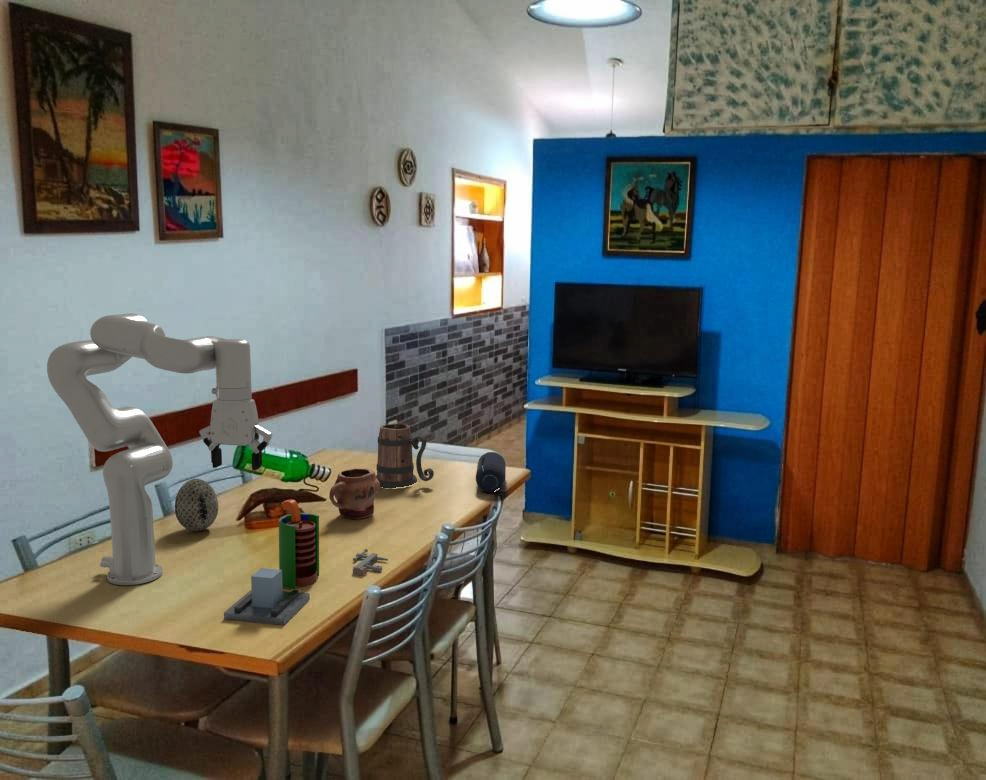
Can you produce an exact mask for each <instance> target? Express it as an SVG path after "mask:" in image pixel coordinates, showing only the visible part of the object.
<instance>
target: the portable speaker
mask: <svg viewBox="0 0 986 780" xmlns="http://www.w3.org/2000/svg"><path fill="white" fill-rule="evenodd" d="M506 465H507V463H506V461H505V459H504V457H503V456H502V454H499V453H498V452H495V451H489V452H486V453H485V452H484V453H483V454H482V455H481V456H480V457H479V459H478V461H477V467H476V471H475V473H476V474H475V483H476V486H477V487H478V488H479V489H480V490H481V491H483V492H484V491H486V492H485V493H487V492H494V491H495V490H496V489H498V488H501V489H502V488H503V487H504V486H505V484H506V483H505V482H506V475H507V473H506V472H507V470H506V467H507V466H506Z"/></svg>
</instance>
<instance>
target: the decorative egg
mask: <svg viewBox="0 0 986 780" xmlns="http://www.w3.org/2000/svg"><path fill="white" fill-rule="evenodd" d="M174 502H175V503H174V512H175V517H176V519H177V521H178V523H179V524H180V525H181V526H182V527H183V528H185V529H186V530H189V531H192V532H201V531H204V530H206V529H208V528H209V527H211V526H212V525H213V524H214V522H215V521H216V519H217V516H218V513H219V500H218V496H217V493H216V491H215V490H214V488H213V487H212V485H210V484H209V483H208V482H207V481H205V480H203V479H200V478H192V479H190V480H188V481H186V482H185V483H184V484H182V485H181V487H180V488H179V490H178V491H177V494H176V497H175V500H174Z"/></svg>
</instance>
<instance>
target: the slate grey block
mask: <svg viewBox="0 0 986 780" xmlns="http://www.w3.org/2000/svg"><path fill="white" fill-rule="evenodd" d="M250 576H251V577H250V582H251V584H250V585H251V589H252V606H255V607H265V608H274V607H275V606H276V605H277V604H278V603H279V602H280V601H281V600H283V591H284V589H283V586H282V570H279V569H277V568H276V569H275V568H264V567H262V568H259V569H258V570H257V571H256V572H254V573H253V574H252V575H250Z"/></svg>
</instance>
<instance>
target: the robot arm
mask: <svg viewBox="0 0 986 780" xmlns="http://www.w3.org/2000/svg"><path fill="white" fill-rule="evenodd" d="M89 331H90V333H89V335H90V338H91V339H89V340H78V341H73V342H68V343H64V344H61V345H59V346H58V347H56V348H55V349H53V350H52V352H50V354H49V356H48V359H47V363H46V372H47V377H48V381H49V383H50V385H51V387H52V388H53V390H54V392H55V393H56V394H57V395H58V397H59V398H60V399H61V401H62V402H63V403H64V404H65V405H66V406H67V408H68V410H69V412H71V414H72V416H73V419H74V420H75V422H77V424H78V426H79V427H80V429H81V431H82V433H83V434H84V436H85V438H86V439H87V440H88V442H89V444H90V445H91V447H92V448H94V449H95V450H96V451H98V452H104V453H105V452H111V451H114V450H119V449H122V448H125V447H127V449H125V450H121V451H118V452H117V453H115V454H113V455H111V456H110V457H109V458H107V460H106V461H105V462H104V465H103V468H102V477H103V481H104V484H105V488H106V492H107V497H108V506H109V519H110V533H111V549H112V551H111V552H112V556H108V555H107V556H105V555H104V556H103V557H101V561H100V564H99V566H100V568H108V569H109V571H108V572H107V575H106V580H107V581H108V583H110V584H112V585H118V586H135V585H140V584H146V583H149V582H152V581H155V580H157V579H158V578H160V577H161V576H162V574H163V573H164V572H163V566H162V565H159V564H158V563H156V551H155V550H156V549H155V531H154V529H155V527H154V513H153V503H152V499H151V497H150V495H149V494H148V491H147V490H146V488H145V487H146V486H147V485H149V484H151V483H155V482H157V481H160V480H162V479H165V477H168V475H170V473H171V471H172V469H173V465H174V462H173V460H174V459H173V456H172V453H171V451H170V450H169V448H168V446H167V445H166V443H165V441H164V439H163V438H162V436H161V434H160V433H159V431H158V429H157V428H156V426H155V425H154V423H153V421H152V420H151V418H150V417H149V416H148V415H147V414H146V413H145V412H144V411H143V410H142V409H140V408H137V407H135V406H124V407H120V408H115V406H113V405H112V404H111V402H110V401H109V400H108V398H107V396H106V394H105V393H104V391H102V390H101V389H100V388H99V387H98V386H97V385H96V384H94V383H93V382H91V381H90V380H88V379H87V377H88V376H94V375H100V374H106V373H110V372H113V371H115V370H117V369H119V368H120V367H121V366H123V365H124V364H126V363H127V362H128V361H129V360H130V359H132V357H133V358H137V359H142V360H145V361H146V362H147V363H148V364H149V365H151V366H152V367H155V368H157V369H160V370H163V371H168V372H172V373H176V374H177V373H178V374H194V373H199V372H202V371H203V372H204V371H209V370H214V369H215V376H216V378H215V379H216V380H215V381H216V386H215V387H213V388H212V389H211V394H212V395H215V397H216V399H214V400H213V402H212V407H211V413H210V425H208V426H206V427H204V428H202V429H200V430H199V435H200V437H201V439H202V442H203V443H204V445H205V446H207V448H208V451H210V458H211V459H210V460H211V464H212V468H213V469H216V468H218V467H220V466H222V465H223V458H222V457H223V455H222V454H223V452H222V448H221V447H220V446H221V445H225V446H226V445H227V446H243V447H244V446H249V447H250V449H251V450H252V452H253V453H251V470H252V471H257V470H259V469H261V468H262V465H263V451H264V450H265V449H266V448H267V447H268V446H269V444H270V441H271V439H272V437H273V433H272V432H270V431H268V430H267V429H265V428H264V427H262V426H260V424H259V422H260V421H259V415H258V410H257V409H258V408H257V405H256V401H255V399H253V398H252V397H253V396H252V369H251V368H252V364H251V363H252V362H251V347H250V346H251V345H250V343H249V341H247V340H245V339H241V338H239V339H238V338H230V339H229V338H222V337H220V336H214V335H213V336H210V335H209V336H202V337H195V338H194V337H193V338H188V339H179V338H178V339H177V338H175V337H169V336H166V334H165V331H164V330H163V328H162V327H161V326H160V325H158V324H156V323H152V322H149V320H148V319H146V318H145V317H144V316H142V315H140V314H138V313H122V314H121V313H120V314H110V315H105V316H102V317H100V318H98V319H97V320H95V321H94V322H93V323H92V325H91V328H90V330H89ZM260 436H262V438H263V439H262V441H261V442H260Z"/></svg>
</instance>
